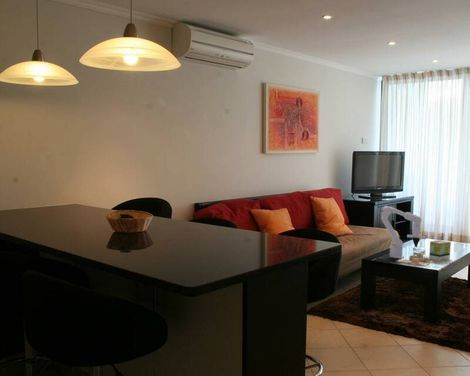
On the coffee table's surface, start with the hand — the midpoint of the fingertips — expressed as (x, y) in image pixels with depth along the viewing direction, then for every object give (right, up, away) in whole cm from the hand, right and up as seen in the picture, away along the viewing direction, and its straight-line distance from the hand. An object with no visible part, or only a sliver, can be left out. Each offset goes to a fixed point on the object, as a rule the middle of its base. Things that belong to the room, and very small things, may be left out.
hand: (415, 246), depth 390 cm
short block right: (+2, -11, -16) cm, 20 cm away
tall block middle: (-2, -10, -13) cm, 16 cm away
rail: (-10, -11, -19) cm, 24 cm away
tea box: (+19, -10, -3) cm, 21 cm away
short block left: (-6, -10, -9) cm, 15 cm away
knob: (-8, -10, -21) cm, 25 cm away
